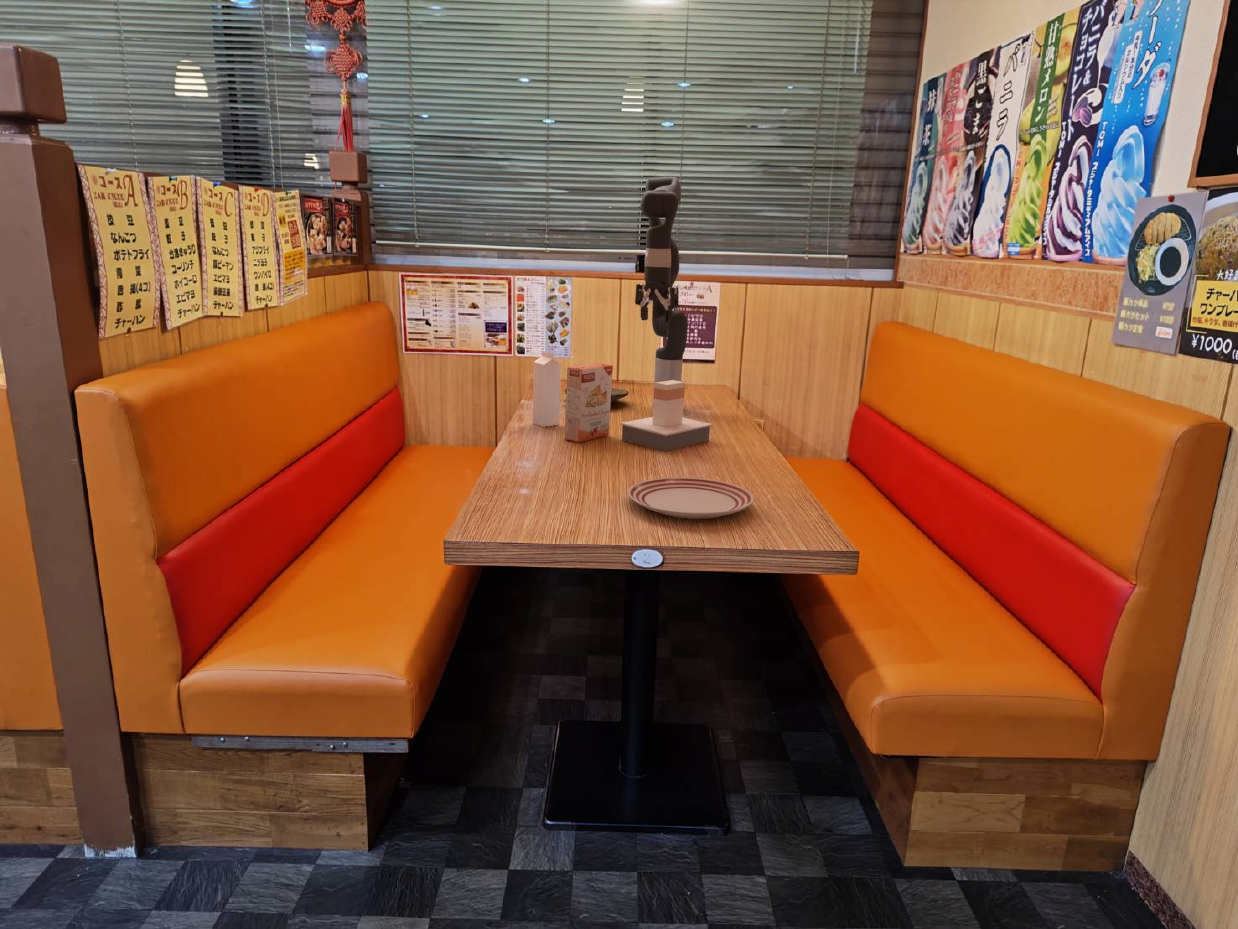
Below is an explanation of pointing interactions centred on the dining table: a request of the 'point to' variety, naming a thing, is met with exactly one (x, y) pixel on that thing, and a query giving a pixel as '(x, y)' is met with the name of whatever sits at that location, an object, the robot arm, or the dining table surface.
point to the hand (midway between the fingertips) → (655, 321)
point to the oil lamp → (616, 394)
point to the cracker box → (588, 401)
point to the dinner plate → (690, 497)
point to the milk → (546, 390)
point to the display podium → (665, 433)
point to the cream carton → (668, 403)
